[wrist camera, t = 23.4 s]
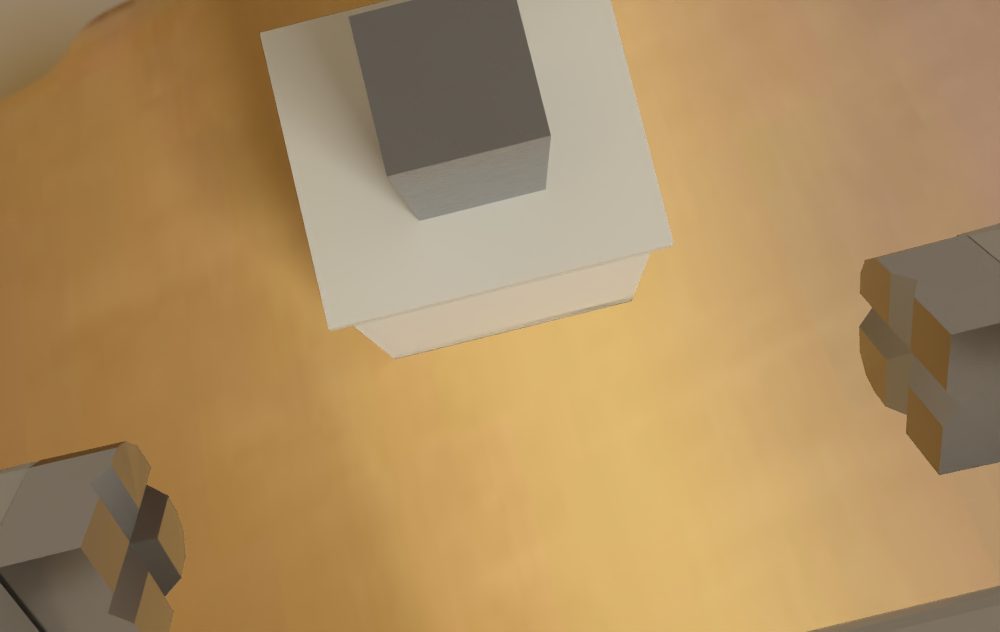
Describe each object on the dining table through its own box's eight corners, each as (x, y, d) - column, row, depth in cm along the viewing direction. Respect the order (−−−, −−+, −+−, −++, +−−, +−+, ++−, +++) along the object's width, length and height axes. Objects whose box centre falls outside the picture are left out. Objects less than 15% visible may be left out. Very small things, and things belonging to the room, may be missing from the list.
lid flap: (595, -44, 36) (597, -53, 35) (670, 247, 35) (674, 244, 34) (265, 40, 36) (259, 32, 35) (333, 330, 35) (328, 329, 34)
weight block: (514, 65, 35) (510, -25, 27) (545, 189, 34) (551, 135, 26) (389, 97, 35) (348, 16, 27) (419, 220, 34) (386, 176, 26)
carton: (571, 78, 46) (574, -19, 38) (632, 300, 44) (651, 253, 35) (345, 134, 47) (295, 52, 38) (393, 359, 44) (353, 326, 35)
